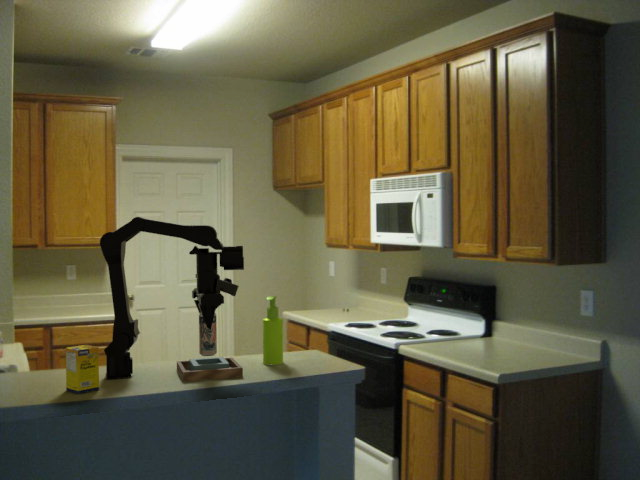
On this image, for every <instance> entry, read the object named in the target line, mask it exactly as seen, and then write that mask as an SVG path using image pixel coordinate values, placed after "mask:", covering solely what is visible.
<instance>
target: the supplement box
mask: <svg viewBox="0 0 640 480" xmlns="http://www.w3.org/2000/svg"><path fill="white" fill-rule="evenodd" d="M99 359H100V358H99V347H98V346H93V345H90V344H82V345H75V346H68V347H65V375H66V376H65V380H66V383H65V386H66V387H65V389H66V391H68V392H71V393H75V394H76V395H79V394H80V395H81V394H84V393H90V392H95V391H99V390H100V372H99V371H100V370H99V369H100V368H99V366H100V364H99Z"/></svg>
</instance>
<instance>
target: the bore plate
mask: <svg viewBox="0 0 640 480" xmlns="http://www.w3.org/2000/svg"><path fill="white" fill-rule="evenodd" d="M225 358H226V357H224V356H217V357H216V356H213V357H201V358H189V370H190V371H196V370H210V369H223V368H229V363H228V362H227V361H226V360H225Z"/></svg>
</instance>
